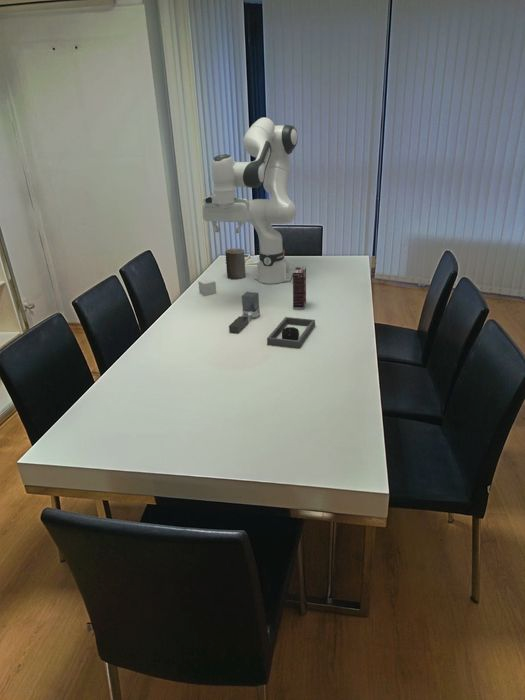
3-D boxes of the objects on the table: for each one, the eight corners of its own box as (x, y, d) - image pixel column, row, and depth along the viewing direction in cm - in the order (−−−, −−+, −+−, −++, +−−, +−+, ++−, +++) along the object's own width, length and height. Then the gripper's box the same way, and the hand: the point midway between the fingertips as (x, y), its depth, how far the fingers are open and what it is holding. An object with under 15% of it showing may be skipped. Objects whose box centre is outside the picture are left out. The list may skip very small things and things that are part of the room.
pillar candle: (224, 279, 248) (222, 250, 242) (230, 273, 257) (229, 245, 250) (242, 280, 246) (240, 251, 239) (248, 274, 254) (246, 246, 247)
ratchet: (246, 312, 205) (246, 298, 202) (262, 313, 203) (261, 300, 200) (225, 332, 187) (224, 317, 184) (242, 334, 185) (241, 319, 182)
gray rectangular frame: (285, 322, 192) (285, 316, 191) (315, 325, 188) (315, 319, 187) (267, 344, 175) (266, 338, 174) (299, 348, 171) (299, 341, 170)
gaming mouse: (280, 348, 172) (279, 338, 171) (282, 332, 186) (282, 322, 184) (297, 348, 172) (297, 338, 170) (299, 332, 185) (299, 322, 183)
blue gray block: (247, 306, 203) (246, 291, 200) (259, 307, 201) (258, 292, 198) (242, 311, 198) (241, 295, 195) (254, 312, 196) (253, 296, 194)
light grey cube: (216, 293, 229) (215, 281, 226) (205, 296, 226) (203, 284, 223) (210, 290, 233) (209, 278, 231) (199, 293, 231) (198, 281, 228)
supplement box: (304, 309, 204) (303, 273, 198) (292, 309, 205) (292, 273, 199) (306, 302, 212) (306, 267, 205) (295, 302, 213) (295, 267, 206)
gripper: (251, 197, 196) (253, 231, 202) (206, 196, 203) (209, 230, 209) (245, 199, 191) (247, 234, 197) (199, 199, 198) (202, 233, 204)
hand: (227, 232), depth 203 cm, fingers open, 8 cm apart
